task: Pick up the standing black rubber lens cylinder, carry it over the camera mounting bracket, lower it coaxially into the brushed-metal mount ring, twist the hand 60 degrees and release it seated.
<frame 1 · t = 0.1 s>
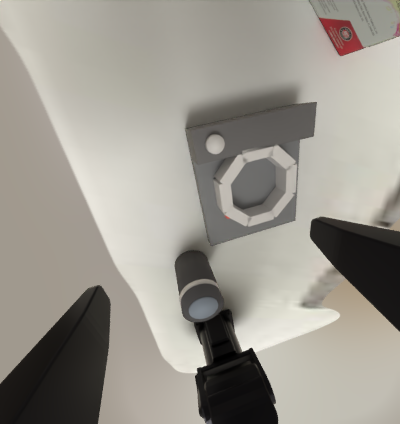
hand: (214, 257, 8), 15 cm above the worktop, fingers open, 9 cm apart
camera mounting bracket: (246, 180, 23), on the worktop
lens: (191, 264, 27), on the worktop
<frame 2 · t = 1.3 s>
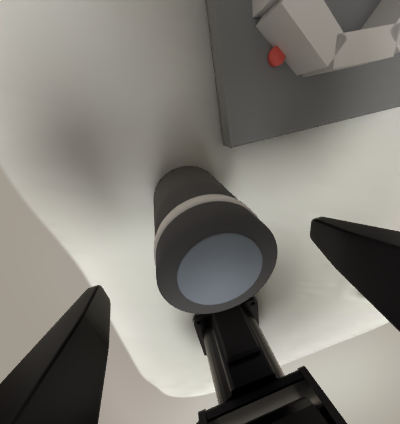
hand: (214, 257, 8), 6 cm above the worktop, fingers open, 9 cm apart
lens: (188, 199, 13), on the worktop
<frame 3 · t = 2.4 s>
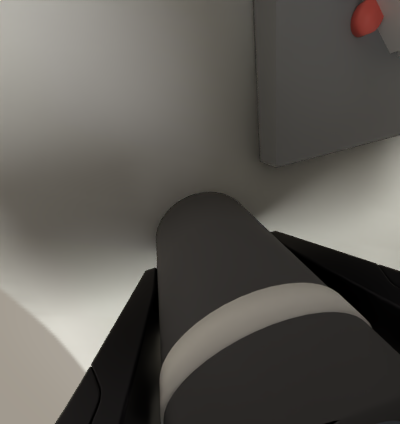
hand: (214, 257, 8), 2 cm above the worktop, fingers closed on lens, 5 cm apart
lens: (205, 237, 9), on the worktop, touching gripper
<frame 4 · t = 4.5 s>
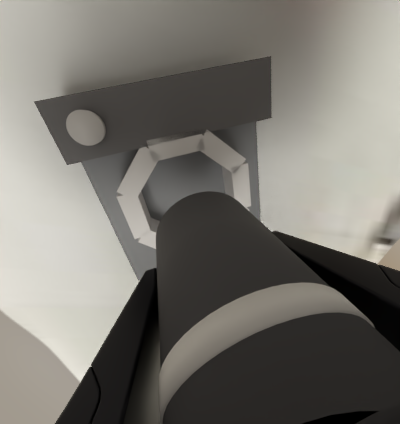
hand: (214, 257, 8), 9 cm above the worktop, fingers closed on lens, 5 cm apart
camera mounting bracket: (183, 187, 16), on the worktop
lens: (205, 237, 9), point 7 cm above the worktop, touching gripper
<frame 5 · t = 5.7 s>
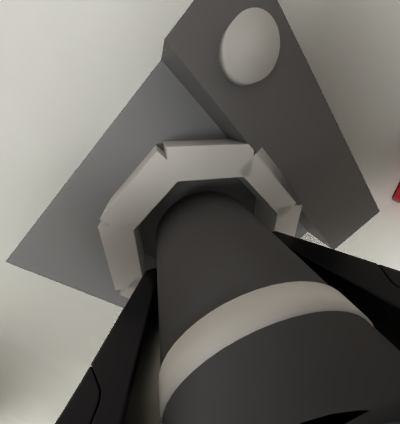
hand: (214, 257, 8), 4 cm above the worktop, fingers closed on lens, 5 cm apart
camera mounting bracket: (195, 215, 11), on the worktop
lens: (204, 236, 9), point 2 cm above the worktop, touching gripper
when the fingers open (4 cm above the worktop, at t = 6.6 s): lens drops 1 cm, resting on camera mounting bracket.
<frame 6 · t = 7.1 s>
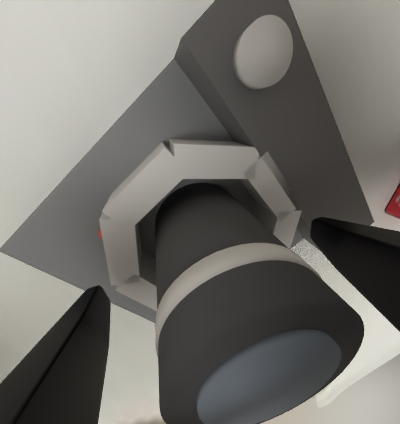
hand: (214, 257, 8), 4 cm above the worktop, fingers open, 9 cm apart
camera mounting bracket: (195, 215, 11), on the worktop
lens: (198, 224, 10), point 1 cm above the worktop, touching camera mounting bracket
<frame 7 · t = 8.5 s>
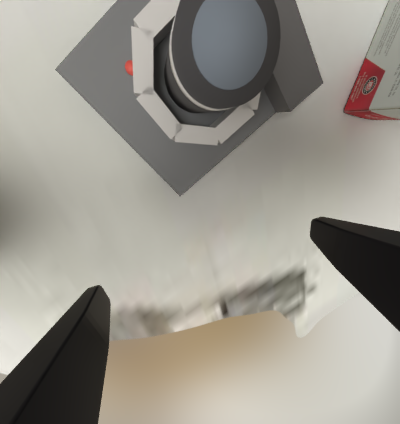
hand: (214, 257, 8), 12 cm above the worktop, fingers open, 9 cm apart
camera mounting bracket: (193, 82, 15), on the worktop
lens: (195, 78, 14), point 1 cm above the worktop, touching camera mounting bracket
ink box: (378, 67, 18), on the worktop
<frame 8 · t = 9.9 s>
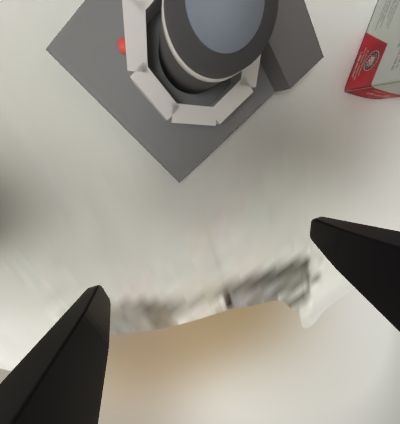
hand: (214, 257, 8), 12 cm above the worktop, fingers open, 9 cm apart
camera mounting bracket: (189, 62, 15), on the worktop
lens: (191, 56, 14), point 1 cm above the worktop, touching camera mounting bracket
ink box: (380, 43, 18), on the worktop
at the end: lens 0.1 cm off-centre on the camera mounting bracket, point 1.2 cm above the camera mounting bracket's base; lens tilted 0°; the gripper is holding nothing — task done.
